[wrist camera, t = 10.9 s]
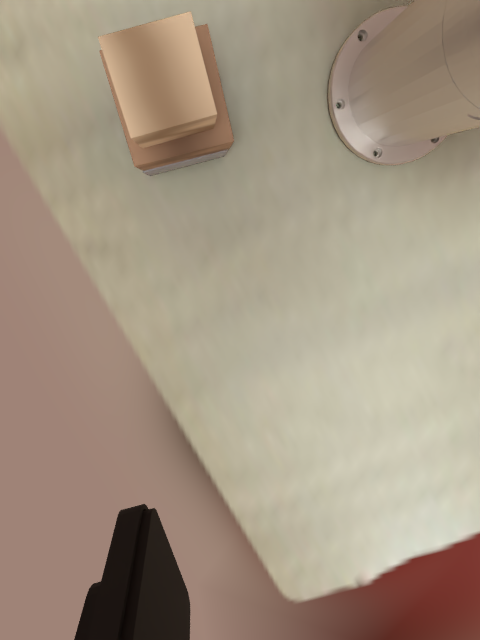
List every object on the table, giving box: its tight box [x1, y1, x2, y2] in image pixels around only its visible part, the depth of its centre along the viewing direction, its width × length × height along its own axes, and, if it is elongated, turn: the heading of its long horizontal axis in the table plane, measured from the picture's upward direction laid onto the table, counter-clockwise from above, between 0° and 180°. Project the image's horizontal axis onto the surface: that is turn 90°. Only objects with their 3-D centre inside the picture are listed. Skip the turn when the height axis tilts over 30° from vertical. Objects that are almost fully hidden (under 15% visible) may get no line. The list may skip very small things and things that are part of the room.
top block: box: [100, 24, 234, 171], centre depth 29 cm, size 7×7×5 cm
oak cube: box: [98, 11, 217, 149], centre depth 24 cm, size 5×5×5 cm
